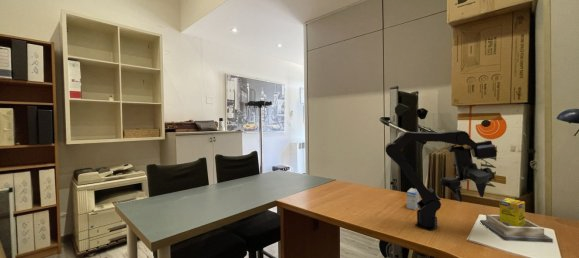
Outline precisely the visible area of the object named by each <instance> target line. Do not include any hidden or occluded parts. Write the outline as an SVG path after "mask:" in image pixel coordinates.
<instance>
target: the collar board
mask: <svg viewBox="0 0 579 258" xmlns="http://www.w3.org/2000/svg"><path fill="white" fill-rule="evenodd" d="M480 222H481V223H482V225H483V226H484V225H485V226H486V227H485V226H484V227H485V228H487V229H488V228H489V229H488V230H490V231H491V232H492V233H494V234H495V235H496V236H498V237H499V238H501V239H502V240H503V241H515V242H536V243H537V242H538V243H539V242H541V243H553V242H554V239H553V238H552V237H550V236H548V235H546V234H545V228H543V227H542V226H540V225H539V224H536V223H534V222H533V221H530V220H529V219H526V218H525V227H516V226H506V225H505V224H503V223H501V222H500V214H486V215H485V219H480V220H479V223H480ZM481 223H480V224H481Z"/></svg>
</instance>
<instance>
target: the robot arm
mask: <svg viewBox="0 0 579 258" xmlns="http://www.w3.org/2000/svg"><path fill="white" fill-rule="evenodd" d="M470 137H471V136H470V134H469V133H468V132H467V131H465V130H460V129H453V130H446V131H440V132H431V131H430V132H428V131H425V132H424V131H420V132H419V131H404V132H403V133H402V134H401V135H400V136H399V137H397V139H395V140H393V142H389V143H386V145H385V148H384V150H385V153H386V155H387V156H388V157H389V158H390V160H391V159H392V161H393V162H395V163H396V164H397V165H398V166H399V168H400V169H401V171H402V172H403V173H404V175H405V176H406V177H407V178H408V180H409V181H410V183H411V184H412V185H413V187H414V189H417V191H418V193H419V198H421V199H419V200H420V201H419V202H418V203H417V206H418V208H417V209H418V210H417V209H416V223H415V224H414V225H415V227H419V228H422V229H424V230H428V231H434V230H435V229H436V228H438V226H439V225H438V217H437V215H436V214H437V211H439V210H440V209H441V207H442V204H441V203H442V202H441V198H440V197H439V195H438V194H436V192H435V190H434V189H433V188H432V187H429V188H428V187H427V186H426V185H425V184H424V183H423V182H422V180H421V179H420V177H419V176H418V174H417V173H416V172H415V170H414V169H413V168H412V166H411V165H410V164H409V163H408V161H407V160H406V158H405V155H404V153H403V151H402V150H403V149H404V148H406V146H407V145H408V144H409V143H410V142H437V143H438V142H440V143H447V144H451V145H449V147H448V148H446V151H447V152H449V153H453V158H454V163H453V167H455V168H456V173H455V176H454V177H453V176H447V177H442V178H441V179H440V184H441V186H444V187H445V188H448V189H449V190H450V191H451V192H452V194H453V195H454V196H455V198H456V199H457V201H458V202H460V203H462V202H463V201H462V200H463V198H462V194H461V190H462V186H461V183H462V182H463V183H464V182H468V181H472V182H474V184H475V188H476V190H477V192H478V195H479V197H481V198H483V197H484V194H485V192H486V187H487V185H488V184H489V183H490V182H491V181H493V179H495V178H496V177H495V173H494V172H493V170H492V168H490V167H484V168H478V165H477V164H476V162H475V163H474V162H473V158H475V159H476V160H477V161H478V160H486V159H494V158H495V159H496V158H497V156H498V155H497V154H498V152H497V149H496V146H494V144H493V142H492V140H484V141H478V142H475V141H474V140H473V139H472V138H470ZM454 145H455V146H454ZM456 145H457V146H456ZM464 146H466V147H464Z"/></svg>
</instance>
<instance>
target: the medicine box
mask: <svg viewBox="0 0 579 258" xmlns="http://www.w3.org/2000/svg"><path fill="white" fill-rule="evenodd" d="M420 200H421V199H420V195H419V193H418V191H417V189H416V188H413V187H411V188H409V189H408V190H407V192H406V209H408V210H412V209H413V210H412V211H417V209H419V208H418V206H417V203H418V202H419V201H420Z"/></svg>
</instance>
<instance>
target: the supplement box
mask: <svg viewBox="0 0 579 258" xmlns="http://www.w3.org/2000/svg"><path fill="white" fill-rule="evenodd" d="M499 215H500V222H501V223H503V224H505V225H506V226H516V227H525V219H526V202H525V201H521V200H517V199H514V198H509V197H505V198H504V199H500V200H499Z"/></svg>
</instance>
